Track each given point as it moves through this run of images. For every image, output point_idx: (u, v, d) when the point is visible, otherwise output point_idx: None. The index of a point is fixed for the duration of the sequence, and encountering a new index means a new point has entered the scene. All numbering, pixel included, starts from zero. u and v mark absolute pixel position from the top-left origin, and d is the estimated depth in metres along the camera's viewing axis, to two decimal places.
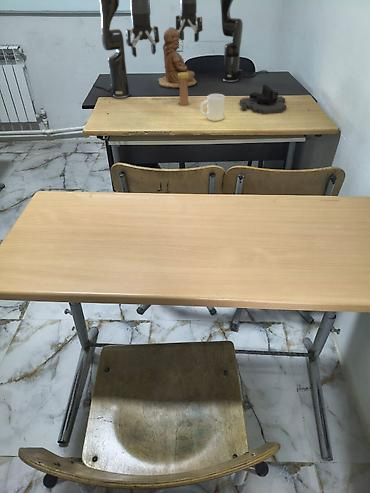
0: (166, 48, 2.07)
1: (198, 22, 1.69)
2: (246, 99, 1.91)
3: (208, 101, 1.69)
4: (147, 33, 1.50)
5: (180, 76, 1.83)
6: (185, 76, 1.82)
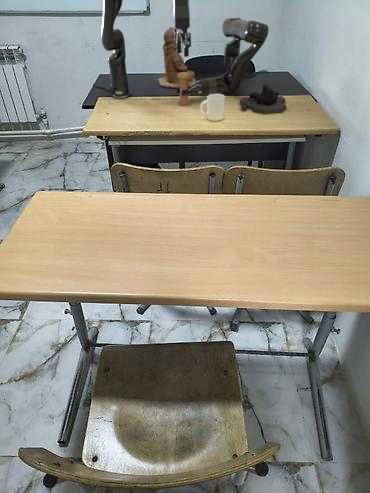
0: (166, 48, 2.07)
1: None
2: (246, 99, 1.91)
3: (208, 101, 1.69)
4: None
5: (180, 76, 1.83)
6: (185, 76, 1.82)
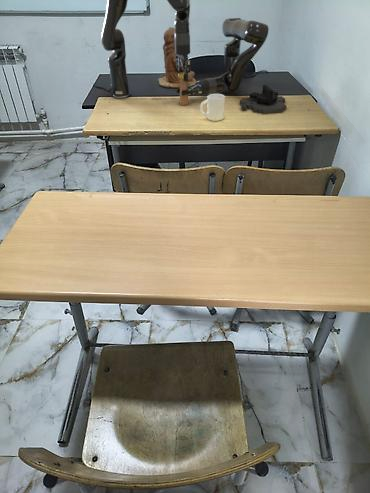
0: (166, 48, 2.07)
1: None
2: (246, 99, 1.91)
3: (208, 101, 1.69)
4: None
5: (180, 76, 1.83)
6: None
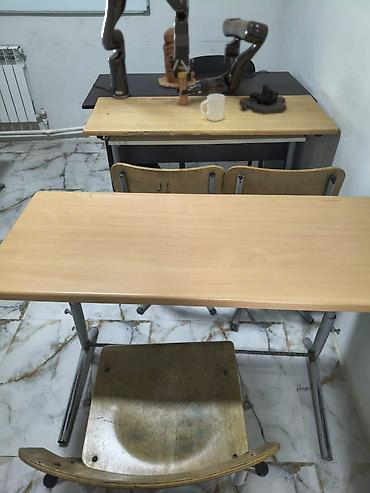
0: (166, 48, 2.07)
1: None
2: (246, 99, 1.91)
3: (208, 101, 1.69)
4: None
5: (185, 75, 1.82)
6: None
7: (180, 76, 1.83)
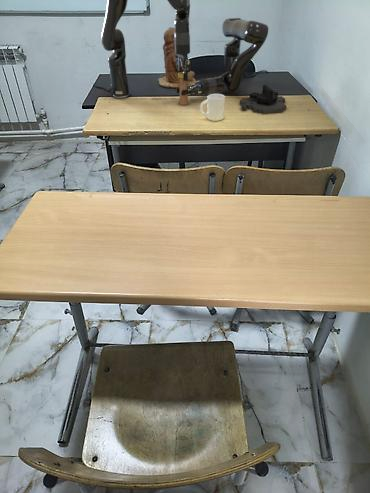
0: (166, 48, 2.07)
1: None
2: (246, 99, 1.91)
3: (208, 101, 1.69)
4: None
5: None
6: None
7: (180, 76, 1.83)
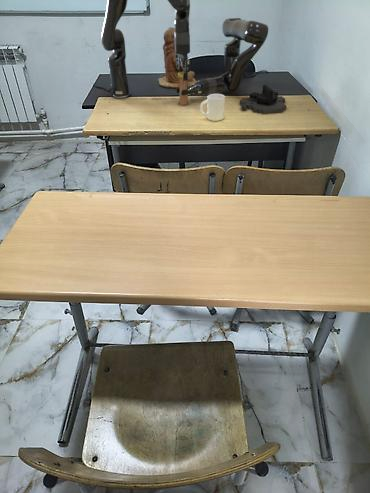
0: (166, 48, 2.07)
1: None
2: (246, 99, 1.91)
3: (208, 101, 1.69)
4: None
5: (188, 74, 1.84)
6: None
7: None
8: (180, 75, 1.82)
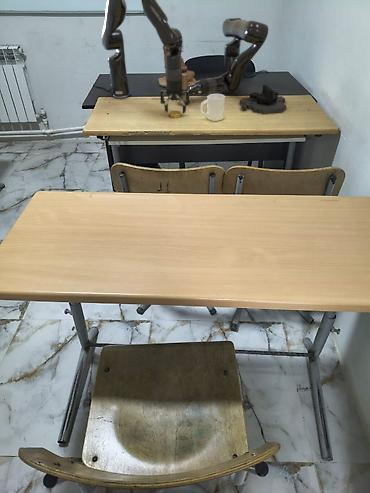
0: (166, 48, 2.07)
1: None
2: (246, 99, 1.91)
3: (208, 101, 1.69)
4: None
5: None
6: None
7: (180, 114, 1.80)
8: (177, 115, 1.78)
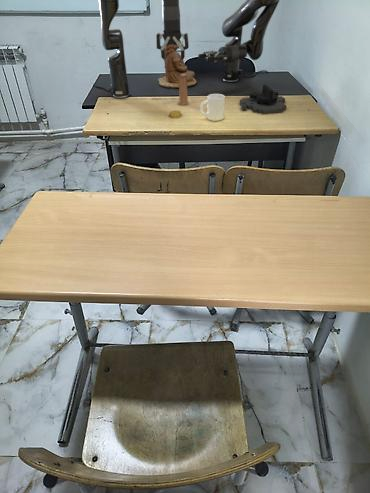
0: (166, 48, 2.07)
1: None
2: (246, 99, 1.91)
3: (208, 101, 1.69)
4: None
5: None
6: None
7: (180, 114, 1.80)
8: (177, 115, 1.78)
